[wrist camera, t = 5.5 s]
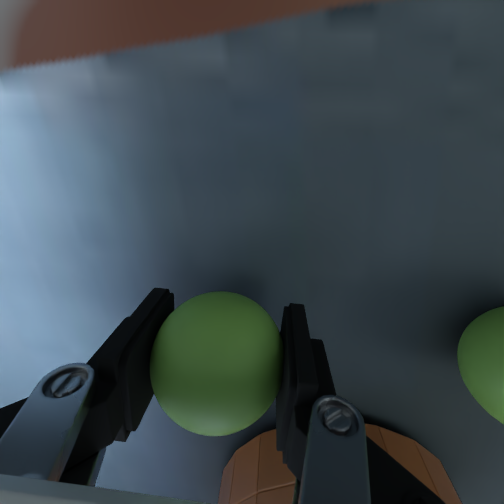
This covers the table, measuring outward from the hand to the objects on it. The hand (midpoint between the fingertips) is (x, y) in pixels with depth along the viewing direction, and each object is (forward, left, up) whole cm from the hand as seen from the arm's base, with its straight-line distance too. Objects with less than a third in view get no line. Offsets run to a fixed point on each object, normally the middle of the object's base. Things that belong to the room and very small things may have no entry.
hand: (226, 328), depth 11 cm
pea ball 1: (0, 0, +2) cm, 2 cm away
